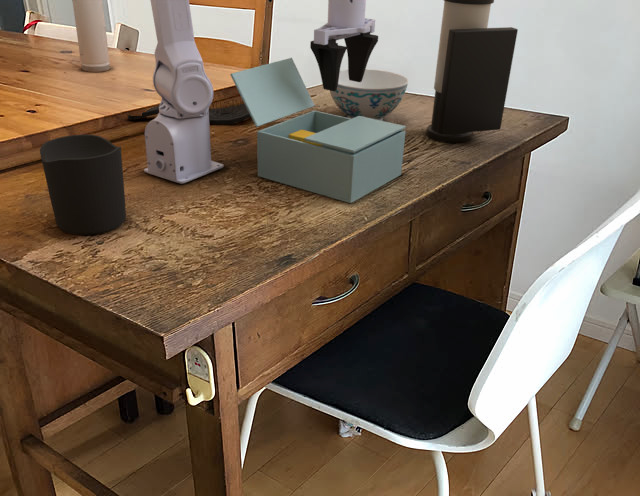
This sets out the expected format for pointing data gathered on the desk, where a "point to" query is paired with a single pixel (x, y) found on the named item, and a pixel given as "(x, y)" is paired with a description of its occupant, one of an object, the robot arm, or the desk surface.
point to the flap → (272, 91)
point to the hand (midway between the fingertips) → (343, 85)
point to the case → (332, 154)
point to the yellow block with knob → (302, 136)
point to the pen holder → (85, 183)
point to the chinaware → (369, 94)
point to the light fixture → (470, 72)
